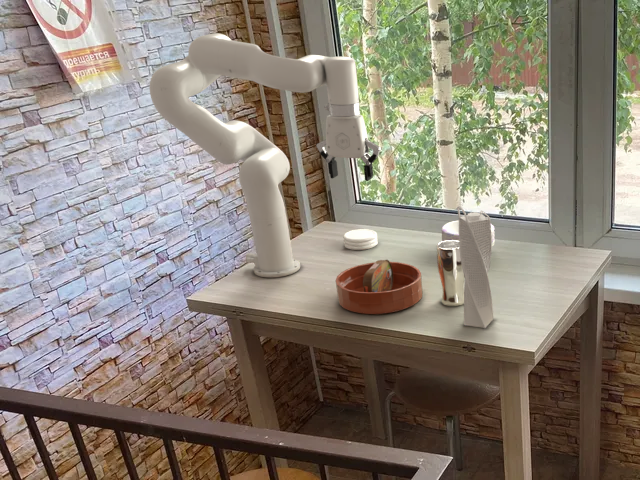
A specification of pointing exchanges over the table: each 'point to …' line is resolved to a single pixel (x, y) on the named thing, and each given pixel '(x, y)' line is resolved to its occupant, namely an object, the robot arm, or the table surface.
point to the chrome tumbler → (450, 272)
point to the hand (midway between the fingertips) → (351, 178)
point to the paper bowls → (457, 231)
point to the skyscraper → (476, 267)
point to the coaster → (360, 239)
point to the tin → (378, 277)
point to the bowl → (397, 299)
